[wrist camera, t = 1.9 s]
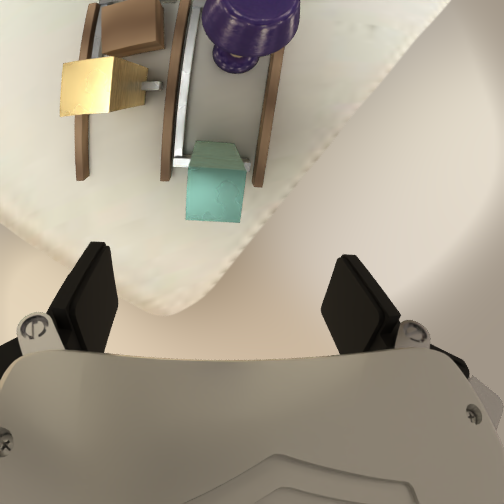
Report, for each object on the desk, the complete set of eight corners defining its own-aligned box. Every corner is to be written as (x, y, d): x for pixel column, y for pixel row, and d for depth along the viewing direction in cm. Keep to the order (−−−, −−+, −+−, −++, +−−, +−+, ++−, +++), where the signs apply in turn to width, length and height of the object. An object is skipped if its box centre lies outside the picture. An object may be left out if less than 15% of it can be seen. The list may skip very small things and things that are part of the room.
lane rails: (94, 7, 16) (88, 4, 14) (286, 11, 19) (290, 7, 18) (82, 176, 25) (76, 180, 23) (259, 182, 28) (262, 187, 27)
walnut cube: (117, 18, 17) (101, 7, 13) (163, 8, 17) (155, -6, 14) (118, 58, 19) (101, 53, 16) (164, 48, 20) (155, 40, 16)
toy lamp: (215, 81, 22) (222, 60, 8) (199, 38, 20) (184, -36, 6) (265, 66, 22) (344, 35, 8) (249, 24, 20) (306, -56, 5)
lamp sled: (194, 4, 18) (187, -39, 9) (270, 12, 19) (302, -24, 11) (174, 175, 26) (158, 218, 18) (245, 180, 28) (262, 224, 19)
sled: (106, 1, 16) (62, -30, 7) (176, -5, 17) (161, -49, 8) (92, 107, 21) (38, 119, 13) (160, 104, 23) (132, 111, 14)
